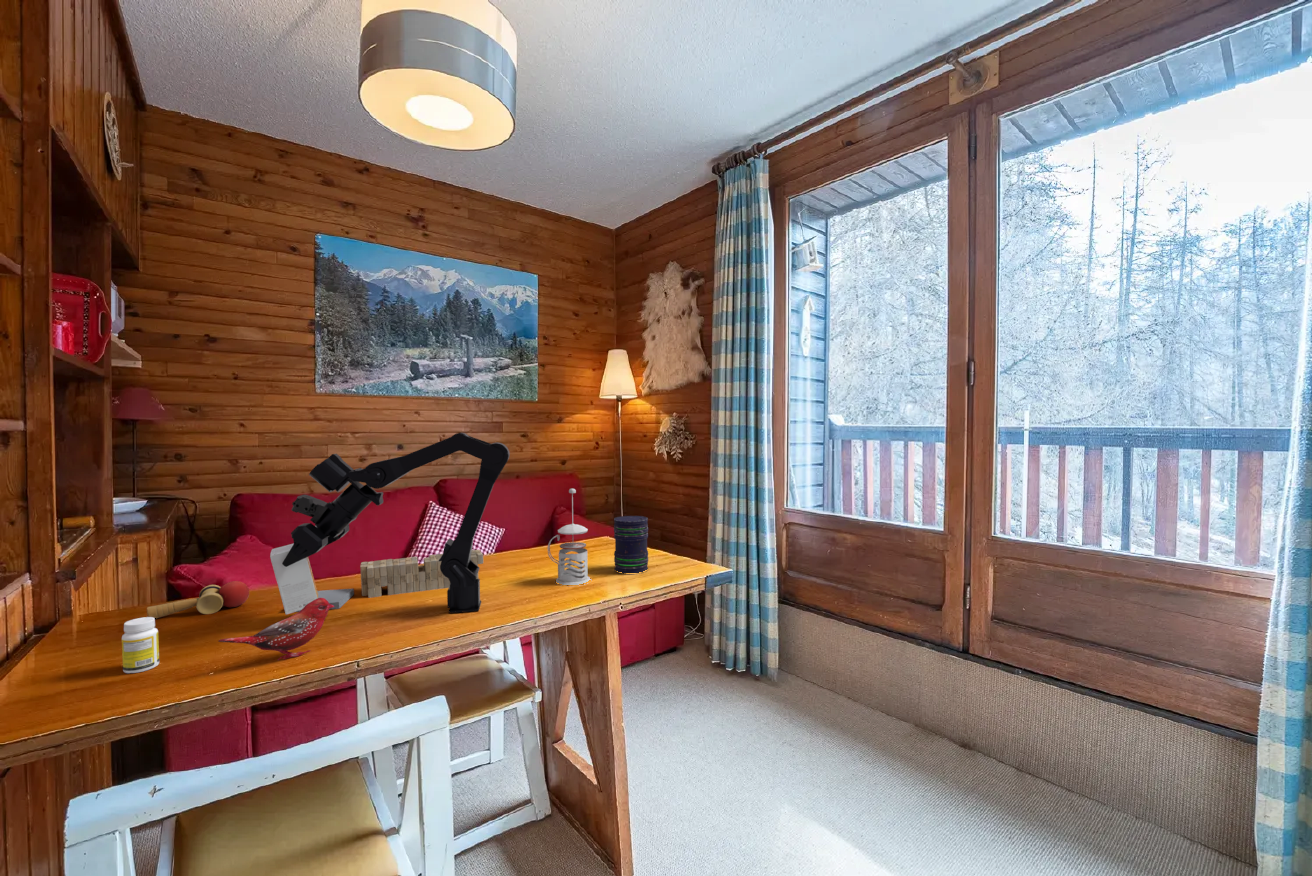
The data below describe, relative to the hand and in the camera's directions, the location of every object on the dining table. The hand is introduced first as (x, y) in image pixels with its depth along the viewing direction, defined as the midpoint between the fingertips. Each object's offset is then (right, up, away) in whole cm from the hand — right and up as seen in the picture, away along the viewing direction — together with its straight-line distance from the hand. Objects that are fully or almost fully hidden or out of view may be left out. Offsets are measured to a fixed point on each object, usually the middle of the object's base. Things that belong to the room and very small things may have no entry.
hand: (293, 559), depth 121 cm
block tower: (+18, -13, +25) cm, 34 cm away
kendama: (-26, -14, +7) cm, 30 cm away
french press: (+55, -12, +30) cm, 64 cm away
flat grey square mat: (-1, -13, +13) cm, 18 cm away
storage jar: (+71, -12, +41) cm, 83 cm away
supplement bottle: (-12, -14, -23) cm, 29 cm away
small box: (+2, -10, +1) cm, 10 cm away
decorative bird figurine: (+11, -14, -20) cm, 27 cm away
